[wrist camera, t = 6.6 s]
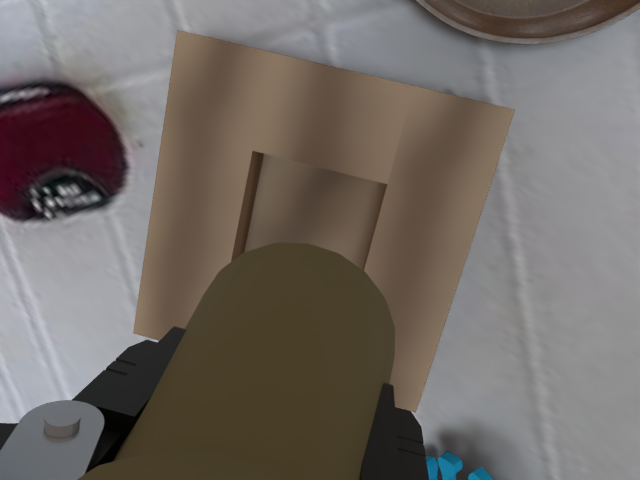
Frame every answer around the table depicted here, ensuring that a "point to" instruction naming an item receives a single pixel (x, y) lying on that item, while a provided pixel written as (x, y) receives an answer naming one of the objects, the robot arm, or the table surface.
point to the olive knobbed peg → (268, 376)
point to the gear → (452, 468)
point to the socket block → (316, 185)
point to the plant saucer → (530, 17)
